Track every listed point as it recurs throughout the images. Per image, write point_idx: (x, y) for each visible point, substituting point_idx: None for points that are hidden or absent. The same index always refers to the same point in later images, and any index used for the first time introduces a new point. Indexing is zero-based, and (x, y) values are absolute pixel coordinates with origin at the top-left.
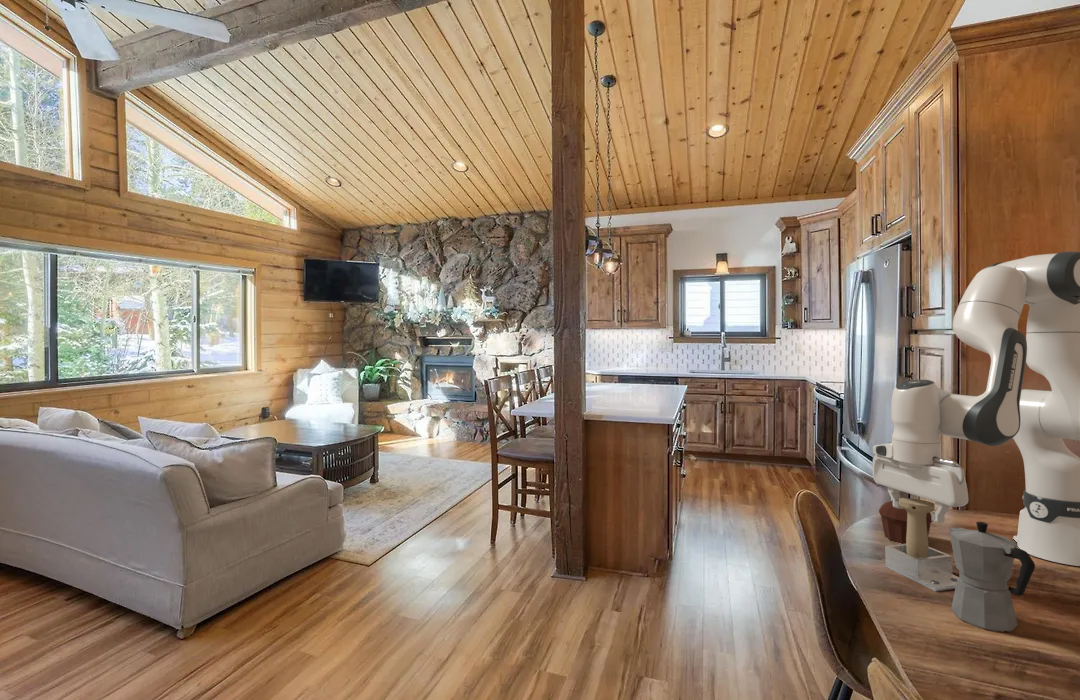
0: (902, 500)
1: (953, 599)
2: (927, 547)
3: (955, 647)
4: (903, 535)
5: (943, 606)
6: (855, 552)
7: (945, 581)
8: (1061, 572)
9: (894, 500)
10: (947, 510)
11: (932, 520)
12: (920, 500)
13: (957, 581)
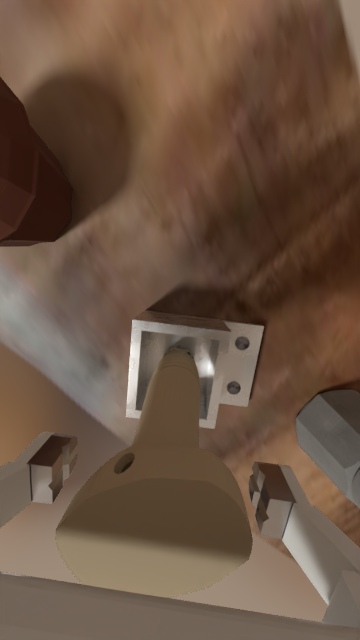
0: (100, 580)
1: (312, 459)
2: (199, 383)
3: (353, 524)
4: (40, 236)
5: (282, 439)
6: (66, 379)
7: (238, 365)
8: (316, 3)
9: (28, 499)
10: (352, 544)
11: (250, 485)
12: (137, 499)
13: (344, 494)
